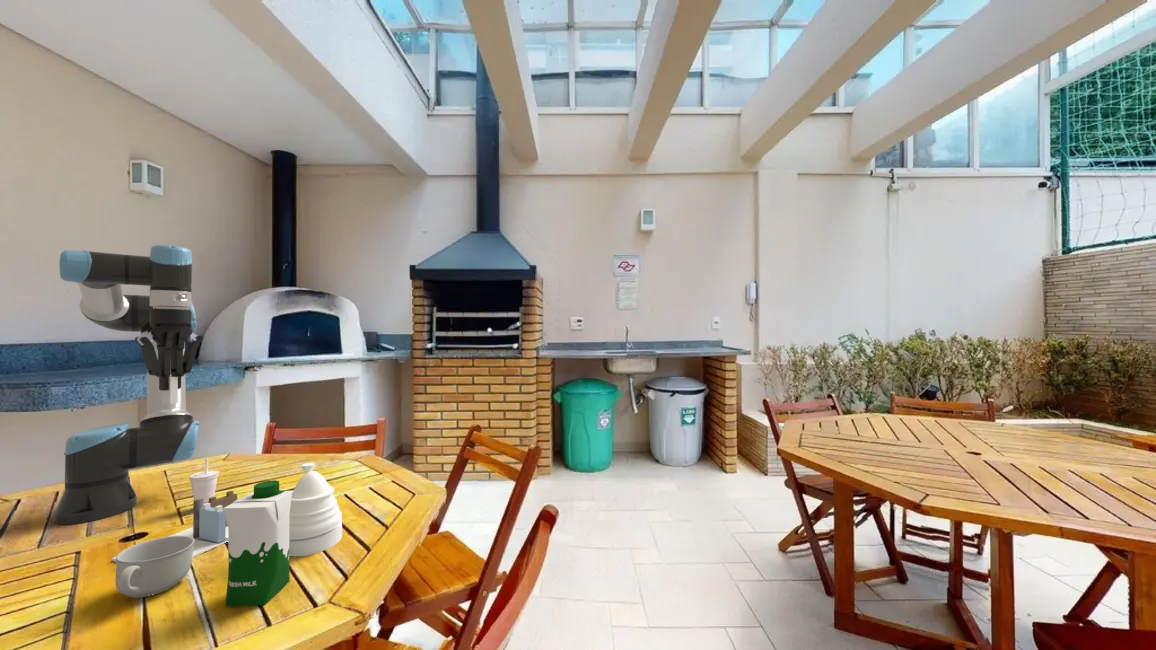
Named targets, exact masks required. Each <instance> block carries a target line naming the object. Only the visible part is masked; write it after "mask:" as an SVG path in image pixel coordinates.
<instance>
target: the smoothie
mask: <svg viewBox="0 0 1156 650" xmlns="http://www.w3.org/2000/svg"><path fill="white" fill-rule="evenodd" d="M204 470H205V471H200V472H196V473H195V472H194V473H193V474H191V475H189V477H188V479H189V480H188V481H189V482H190V486H191V490H192V496H193V497H192V498H193V501H195V500H198V499H204V503H207V502H209V498H211V497H216V496H215V494H216V488H217V483H218V476H220V471H219V470H213V469H212V470H209V457H205V469H204Z"/></svg>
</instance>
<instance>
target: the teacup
mask: <svg viewBox="0 0 1156 650" xmlns="http://www.w3.org/2000/svg"><path fill="white" fill-rule="evenodd" d="M194 542H195V540H194V538H192V537H189V536H171V535H169V536H163V537H158V538H154V539H149V540H145V541H142V542H139V543H137V544H134V545H132V546H128V547H127V548H125V549H123V550H121V551H120V552H119V553H118V554H116V556H115V557H116V561H117V562H116V564H115V565H116V567H115V579H114V580H115V586H116V590H117V591H118V593H121V594H122V595H125V596H127V597H130V598H135V599H136V598H137V599H138V598H146V597H145V596H148V595H152V594H156V595H158V594H157V593H159V594H161V593H163V591H164V592H166V591H168V590H170V589H171V587H172V588H173V587H175V586H176V585H177V584H178V583H179V582H180V581H181V580H183V579H184V578H185V577H186V576H187V575H188V573H189V571H190V569H191V566H192V561H193V558H192V555H193V544H194ZM175 584H176V585H175ZM174 585H175V586H174ZM169 588H170V589H169ZM167 589H168V590H167ZM165 590H166V591H165ZM160 592H161V593H160ZM152 596H153V595H152ZM148 597H149V596H148Z"/></svg>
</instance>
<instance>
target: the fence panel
mask: <svg viewBox="0 0 1156 650" xmlns="http://www.w3.org/2000/svg"><path fill="white" fill-rule="evenodd" d="M225 536H226V518H225V514H224V511H223V509H222V506H221V505H219V506H216V507H215V508H213V507H210V503H206V504H203V508H200V520H199V538H201V539H205V540H209V541H213V542H217V543H219V542H222V541H224V540H225Z"/></svg>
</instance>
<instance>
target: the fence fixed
mask: <svg viewBox="0 0 1156 650" xmlns="http://www.w3.org/2000/svg"><path fill="white" fill-rule="evenodd" d="M236 500H238V493H234V490H229V491H226V494H225V496H221V497H219V498H217V497H216V496H214V497H211V498H209V502H207V503H210V507H213V508H215V507H216V506H219V505H221V506H222V509H223V508H225V507H226V506H228V505H230V504H232V503H233V502H234V501H236ZM192 502H193V504H192V505H193V511H192V513H193V514H192V518H193V520H192V525H193V526H192V527H193V538H199V520H200V508H203V504H206V503H204V499H198V500H195V501H194V500H193V501H192ZM226 525H227V521H226Z"/></svg>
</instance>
